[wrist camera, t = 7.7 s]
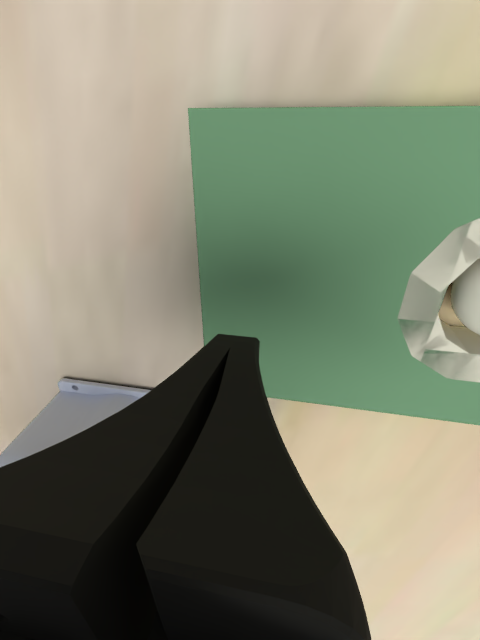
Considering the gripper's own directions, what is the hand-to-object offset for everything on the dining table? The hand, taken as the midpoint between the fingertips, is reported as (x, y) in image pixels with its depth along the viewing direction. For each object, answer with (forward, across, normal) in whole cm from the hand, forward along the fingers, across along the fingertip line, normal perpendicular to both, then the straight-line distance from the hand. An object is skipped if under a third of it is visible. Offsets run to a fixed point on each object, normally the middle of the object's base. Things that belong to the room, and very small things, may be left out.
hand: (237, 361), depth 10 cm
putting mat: (+8, -6, 0) cm, 10 cm away
